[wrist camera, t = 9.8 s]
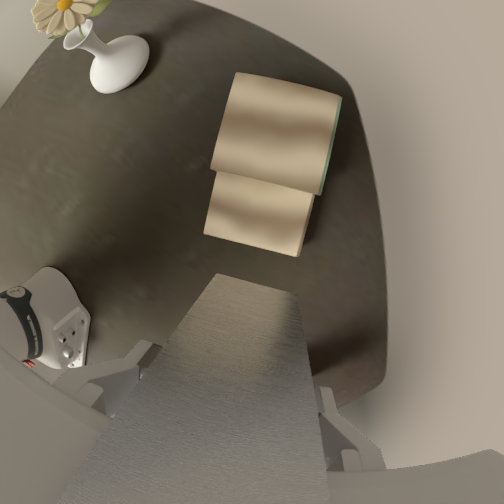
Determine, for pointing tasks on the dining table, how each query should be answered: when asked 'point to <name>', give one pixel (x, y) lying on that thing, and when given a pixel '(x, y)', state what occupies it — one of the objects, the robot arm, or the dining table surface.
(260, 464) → the grey column
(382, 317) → the dining table surface
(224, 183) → the step stand
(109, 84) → the flower in vase
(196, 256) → the dining table surface
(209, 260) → the dining table surface
